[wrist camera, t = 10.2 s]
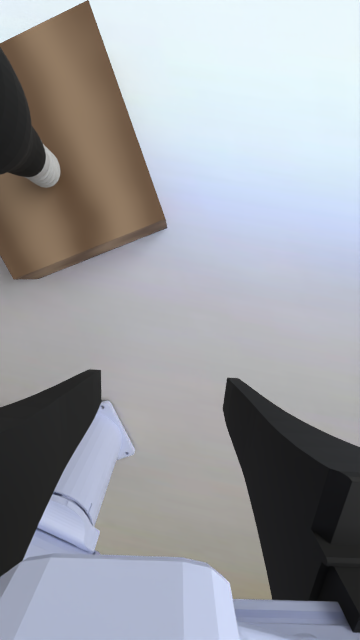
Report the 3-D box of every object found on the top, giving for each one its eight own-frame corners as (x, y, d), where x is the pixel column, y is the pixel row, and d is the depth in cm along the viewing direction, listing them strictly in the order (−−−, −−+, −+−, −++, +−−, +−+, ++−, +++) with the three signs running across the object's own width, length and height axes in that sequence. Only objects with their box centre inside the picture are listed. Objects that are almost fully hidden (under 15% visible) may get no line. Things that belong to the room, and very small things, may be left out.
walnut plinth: (38, 278, 20) (13, 279, 17) (-45, 122, 16) (-93, 88, 14) (167, 227, 19) (165, 218, 16) (104, 51, 16) (88, 0, 13)
